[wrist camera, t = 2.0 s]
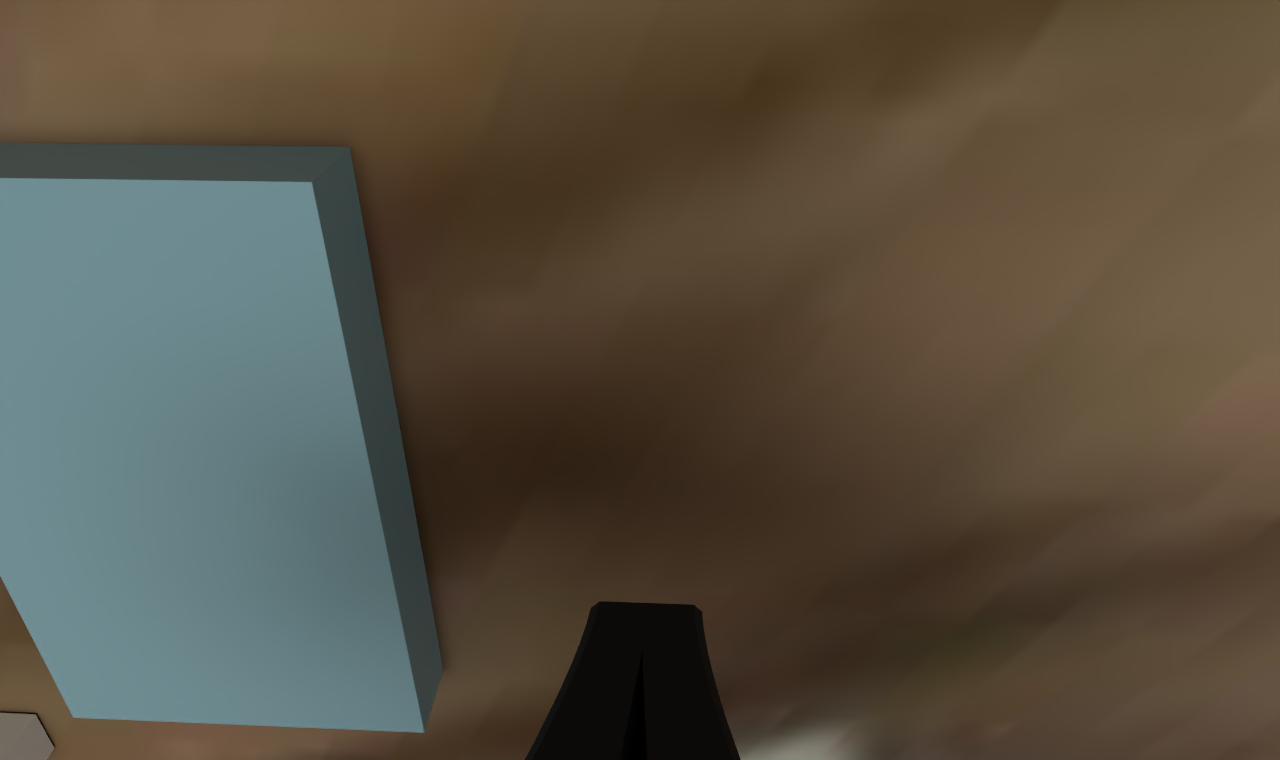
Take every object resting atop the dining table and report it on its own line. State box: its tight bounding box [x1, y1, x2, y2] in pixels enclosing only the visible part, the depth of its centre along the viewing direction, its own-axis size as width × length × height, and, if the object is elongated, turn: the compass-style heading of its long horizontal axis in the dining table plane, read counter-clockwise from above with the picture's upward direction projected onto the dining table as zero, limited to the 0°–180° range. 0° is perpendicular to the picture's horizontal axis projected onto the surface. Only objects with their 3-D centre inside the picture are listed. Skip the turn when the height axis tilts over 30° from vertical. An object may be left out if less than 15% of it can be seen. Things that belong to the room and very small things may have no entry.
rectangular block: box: [0, 143, 443, 733], centre depth 15 cm, size 11×7×2 cm, turn 0°
